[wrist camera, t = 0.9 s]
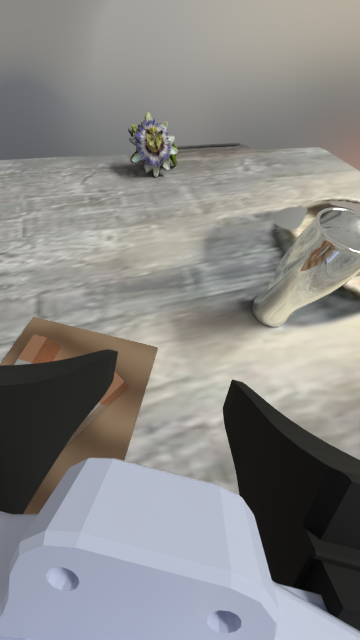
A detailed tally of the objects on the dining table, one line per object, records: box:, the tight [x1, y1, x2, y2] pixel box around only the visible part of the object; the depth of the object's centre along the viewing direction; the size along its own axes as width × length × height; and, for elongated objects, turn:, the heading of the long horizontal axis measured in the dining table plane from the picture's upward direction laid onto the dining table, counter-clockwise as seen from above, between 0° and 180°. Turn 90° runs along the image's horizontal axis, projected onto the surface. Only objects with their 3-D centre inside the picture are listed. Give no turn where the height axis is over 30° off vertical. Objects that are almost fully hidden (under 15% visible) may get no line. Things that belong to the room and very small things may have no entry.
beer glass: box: [252, 208, 360, 327], centre depth 23 cm, size 7×7×15 cm
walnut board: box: [0, 317, 158, 514], centre depth 20 cm, size 22×18×1 cm
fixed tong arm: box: [14, 334, 61, 365], centre depth 18 cm, size 18×4×3 cm, turn 167°
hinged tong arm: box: [64, 372, 129, 448], centre depth 18 cm, size 17×2×3 cm, turn 137°
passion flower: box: [128, 112, 178, 178], centre depth 45 cm, size 11×11×12 cm
